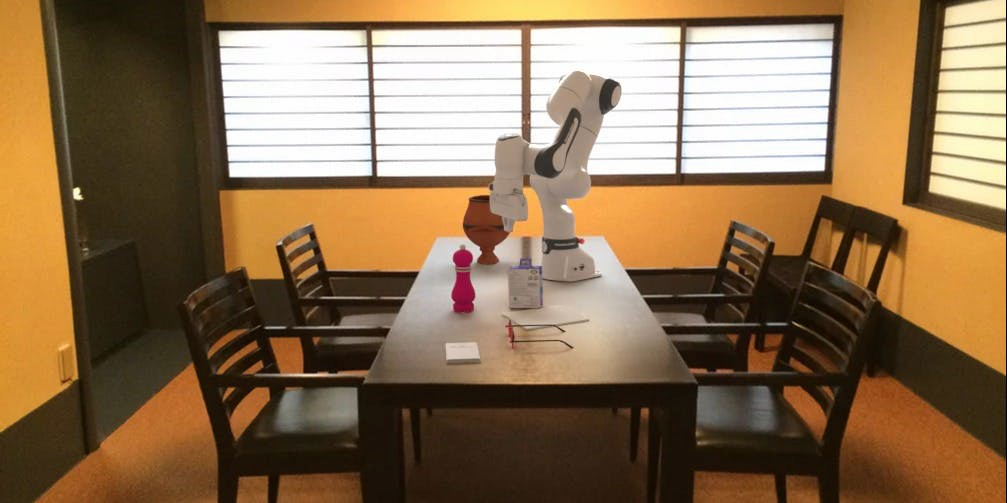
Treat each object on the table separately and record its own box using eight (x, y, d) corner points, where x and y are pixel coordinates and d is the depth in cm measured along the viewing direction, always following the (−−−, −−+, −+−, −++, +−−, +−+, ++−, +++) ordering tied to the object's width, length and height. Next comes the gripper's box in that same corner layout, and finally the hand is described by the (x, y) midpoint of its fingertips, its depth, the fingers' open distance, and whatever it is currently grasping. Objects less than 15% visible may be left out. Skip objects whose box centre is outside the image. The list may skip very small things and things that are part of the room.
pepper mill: (479, 307, 229) (478, 242, 224) (470, 314, 222) (469, 247, 218) (457, 305, 231) (456, 241, 227) (447, 311, 224) (446, 246, 220)
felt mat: (561, 306, 229) (561, 305, 229) (589, 320, 215) (589, 319, 215) (501, 314, 221) (501, 313, 221) (526, 330, 207) (526, 328, 207)
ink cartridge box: (543, 304, 230) (542, 257, 228) (541, 308, 225) (540, 261, 223) (512, 304, 232) (510, 257, 230) (508, 308, 227) (507, 260, 225)
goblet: (477, 269, 277) (476, 202, 272) (454, 259, 293) (453, 196, 288) (522, 263, 286) (522, 198, 281) (497, 254, 303) (497, 192, 297)
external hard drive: (446, 365, 182) (445, 348, 194) (480, 364, 183) (477, 347, 195) (446, 359, 182) (445, 342, 194) (480, 358, 182) (477, 341, 194)
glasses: (505, 334, 205) (505, 316, 204) (565, 332, 206) (565, 315, 205) (509, 351, 191) (509, 333, 190) (574, 349, 192) (574, 331, 191)
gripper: (533, 190, 224) (532, 236, 227) (504, 183, 242) (503, 225, 245) (514, 191, 221) (514, 237, 224) (486, 184, 240) (486, 227, 242)
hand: (508, 231), depth 235 cm, fingers closed
